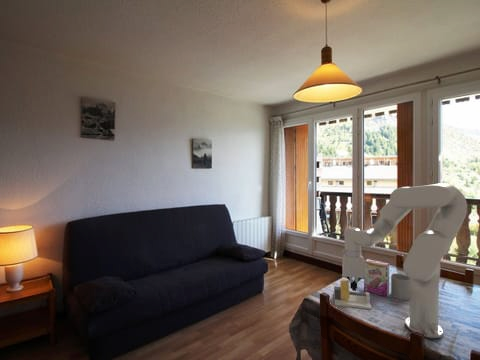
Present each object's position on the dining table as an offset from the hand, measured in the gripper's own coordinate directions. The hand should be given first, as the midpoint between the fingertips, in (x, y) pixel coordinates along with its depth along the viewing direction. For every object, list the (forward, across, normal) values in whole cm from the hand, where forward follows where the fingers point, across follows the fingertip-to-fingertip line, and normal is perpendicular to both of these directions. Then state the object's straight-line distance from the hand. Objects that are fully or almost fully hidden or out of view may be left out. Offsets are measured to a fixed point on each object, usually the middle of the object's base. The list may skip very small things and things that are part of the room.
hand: (353, 289), depth 125 cm
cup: (+6, +24, +12) cm, 27 cm away
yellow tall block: (+4, -4, 0) cm, 6 cm away
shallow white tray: (+6, -1, 0) cm, 6 cm away
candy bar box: (+6, +13, +13) cm, 19 cm away
